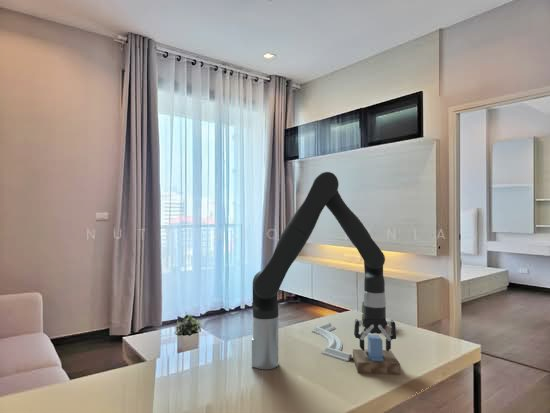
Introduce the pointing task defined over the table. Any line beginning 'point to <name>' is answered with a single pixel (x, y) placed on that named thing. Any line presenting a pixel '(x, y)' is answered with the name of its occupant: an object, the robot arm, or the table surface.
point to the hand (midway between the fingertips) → (375, 350)
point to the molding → (332, 343)
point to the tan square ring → (376, 363)
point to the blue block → (375, 348)
